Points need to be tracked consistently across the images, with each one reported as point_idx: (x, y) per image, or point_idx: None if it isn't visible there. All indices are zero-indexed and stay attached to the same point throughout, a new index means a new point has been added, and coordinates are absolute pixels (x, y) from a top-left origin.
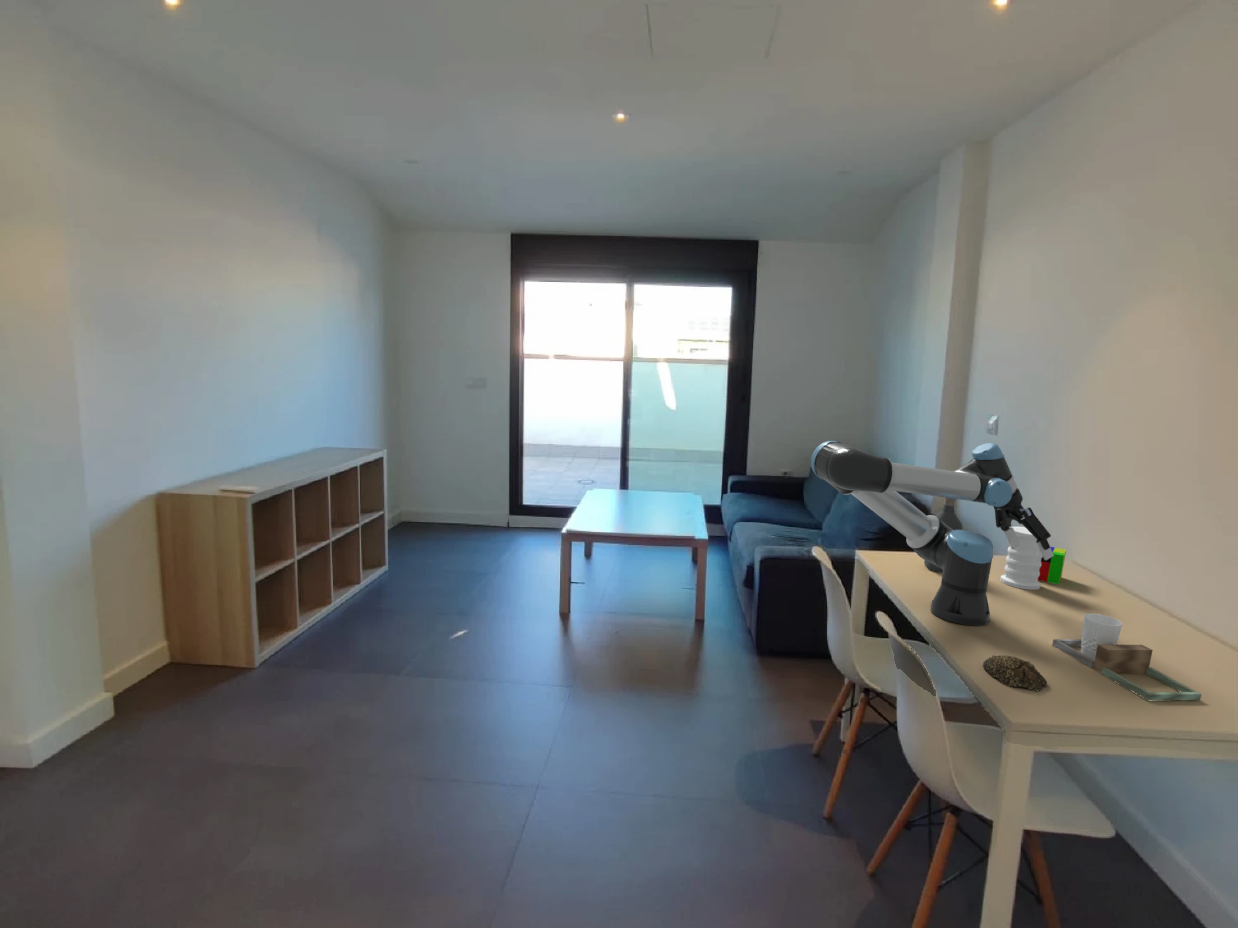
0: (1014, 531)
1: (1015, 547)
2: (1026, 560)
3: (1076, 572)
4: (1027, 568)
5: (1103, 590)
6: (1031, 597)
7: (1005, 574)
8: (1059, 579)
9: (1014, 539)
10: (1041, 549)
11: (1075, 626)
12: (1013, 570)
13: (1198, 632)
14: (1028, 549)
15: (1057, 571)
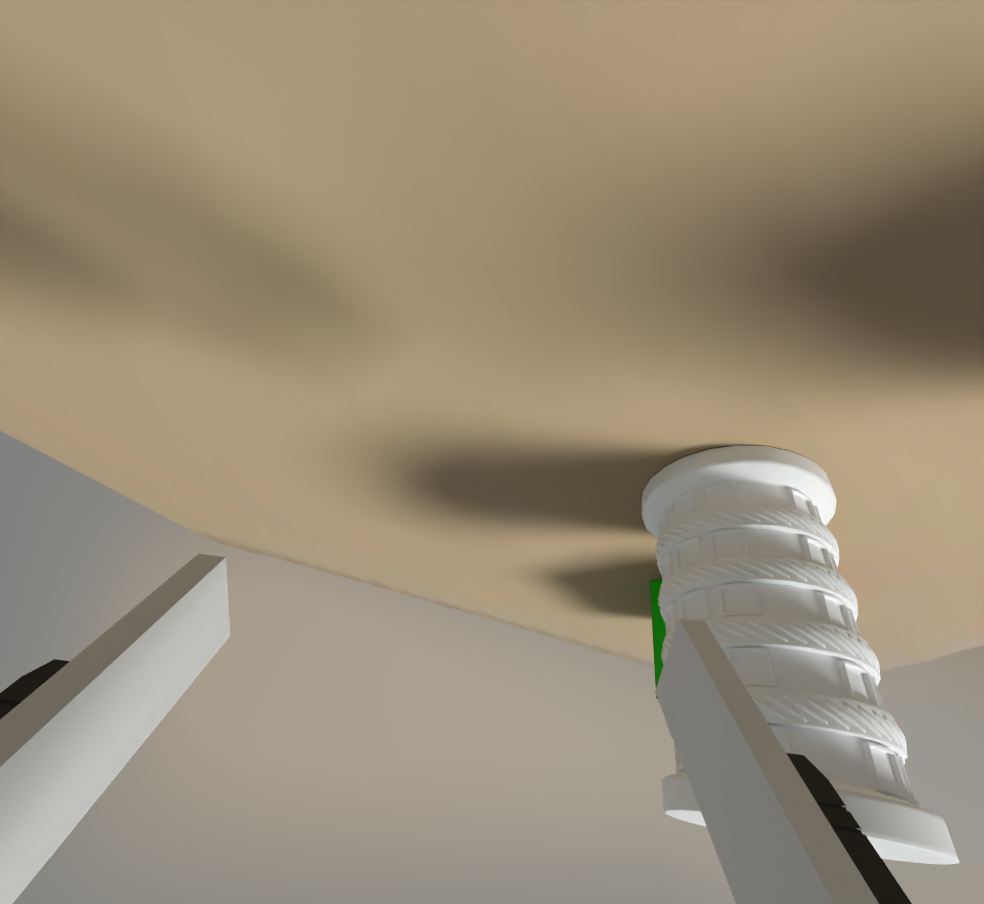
0: (735, 899)
1: (676, 648)
2: (705, 606)
3: None
4: (687, 564)
5: (563, 612)
6: (567, 406)
7: (809, 504)
8: (651, 598)
9: (703, 750)
10: (82, 652)
11: (177, 275)
12: (755, 526)
13: (276, 552)
14: None
15: (663, 625)
